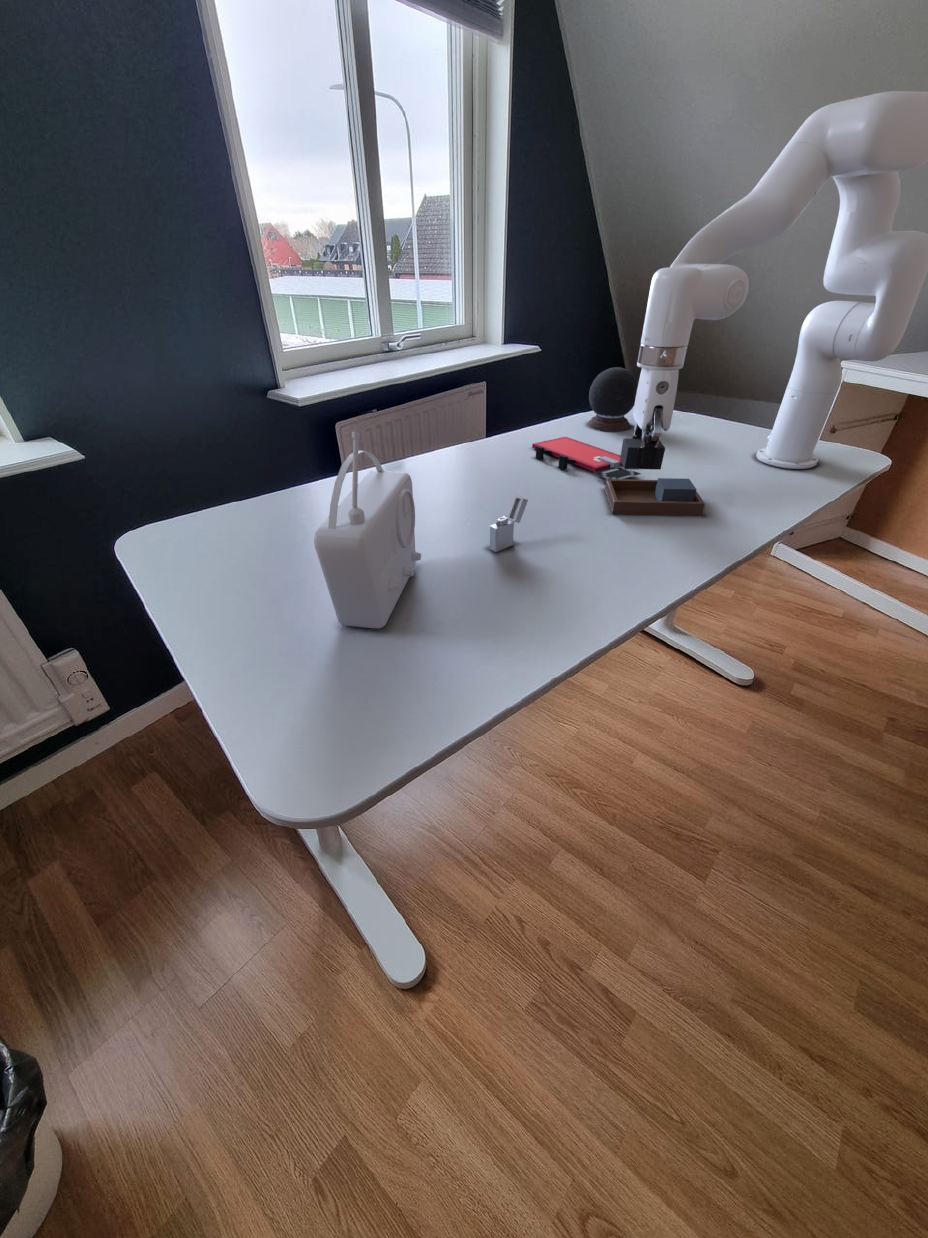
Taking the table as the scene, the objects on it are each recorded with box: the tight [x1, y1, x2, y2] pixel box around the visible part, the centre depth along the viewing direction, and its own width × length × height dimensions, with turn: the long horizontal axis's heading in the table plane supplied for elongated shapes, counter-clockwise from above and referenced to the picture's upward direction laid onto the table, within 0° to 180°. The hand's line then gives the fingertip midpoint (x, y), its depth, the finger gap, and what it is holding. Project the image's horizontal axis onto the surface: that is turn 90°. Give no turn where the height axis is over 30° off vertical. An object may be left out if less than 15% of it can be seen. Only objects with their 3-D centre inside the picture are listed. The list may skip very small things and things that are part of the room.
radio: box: [313, 431, 422, 630], centre depth 67 cm, size 22×8×25 cm, turn 170°
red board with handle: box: [531, 436, 642, 480], centre depth 117 cm, size 30×3×15 cm
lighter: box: [489, 495, 529, 553], centre depth 84 cm, size 7×2×8 cm, turn 129°
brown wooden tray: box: [604, 478, 706, 517], centre depth 98 cm, size 12×17×2 cm
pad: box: [654, 477, 698, 502], centre depth 97 cm, size 6×6×4 cm
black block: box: [620, 437, 666, 471], centre depth 93 cm, size 6×7×4 cm
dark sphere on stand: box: [588, 366, 639, 432], centre depth 138 cm, size 13×13×15 cm
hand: (640, 461), depth 94 cm, fingers closed on black block, 5 cm apart
